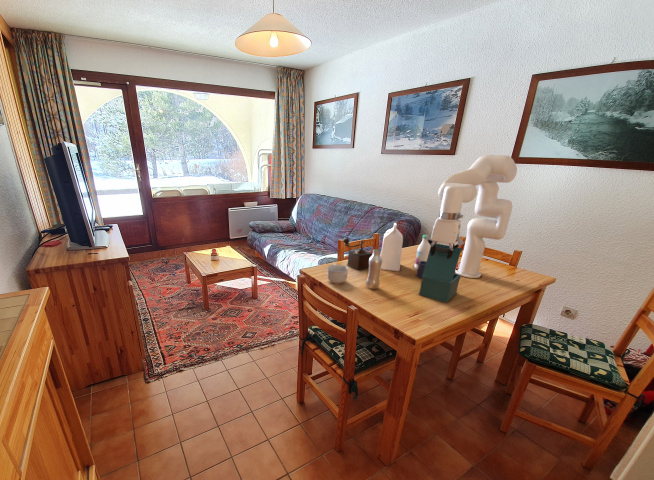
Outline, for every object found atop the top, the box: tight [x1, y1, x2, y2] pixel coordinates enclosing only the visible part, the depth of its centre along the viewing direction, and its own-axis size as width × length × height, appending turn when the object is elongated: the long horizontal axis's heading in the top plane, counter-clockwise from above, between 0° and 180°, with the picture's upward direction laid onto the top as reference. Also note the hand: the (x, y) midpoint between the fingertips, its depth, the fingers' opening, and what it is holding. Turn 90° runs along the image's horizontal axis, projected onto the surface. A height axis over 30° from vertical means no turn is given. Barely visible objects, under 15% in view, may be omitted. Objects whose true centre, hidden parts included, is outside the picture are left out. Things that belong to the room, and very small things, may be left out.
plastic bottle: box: [365, 248, 382, 290], centre depth 154 cm, size 6×7×20 cm
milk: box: [380, 222, 404, 272], centre depth 182 cm, size 12×12×26 cm
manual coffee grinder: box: [342, 237, 373, 271], centre depth 183 cm, size 16×11×18 cm
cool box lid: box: [423, 243, 463, 282], centre depth 139 cm, size 16×13×5 cm
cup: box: [416, 261, 426, 279], centre depth 171 cm, size 7×7×8 cm
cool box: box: [419, 273, 462, 304], centre depth 149 cm, size 15×13×10 cm
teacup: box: [326, 263, 349, 284], centre depth 165 cm, size 14×11×8 cm
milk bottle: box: [413, 234, 431, 270], centre depth 181 cm, size 8×8×20 cm
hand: (440, 256), depth 137 cm, fingers closed on cool box lid, 6 cm apart
